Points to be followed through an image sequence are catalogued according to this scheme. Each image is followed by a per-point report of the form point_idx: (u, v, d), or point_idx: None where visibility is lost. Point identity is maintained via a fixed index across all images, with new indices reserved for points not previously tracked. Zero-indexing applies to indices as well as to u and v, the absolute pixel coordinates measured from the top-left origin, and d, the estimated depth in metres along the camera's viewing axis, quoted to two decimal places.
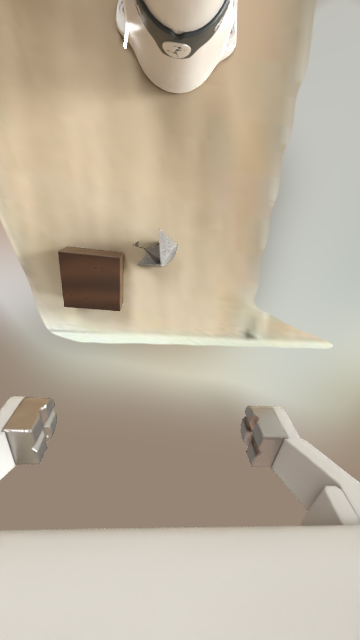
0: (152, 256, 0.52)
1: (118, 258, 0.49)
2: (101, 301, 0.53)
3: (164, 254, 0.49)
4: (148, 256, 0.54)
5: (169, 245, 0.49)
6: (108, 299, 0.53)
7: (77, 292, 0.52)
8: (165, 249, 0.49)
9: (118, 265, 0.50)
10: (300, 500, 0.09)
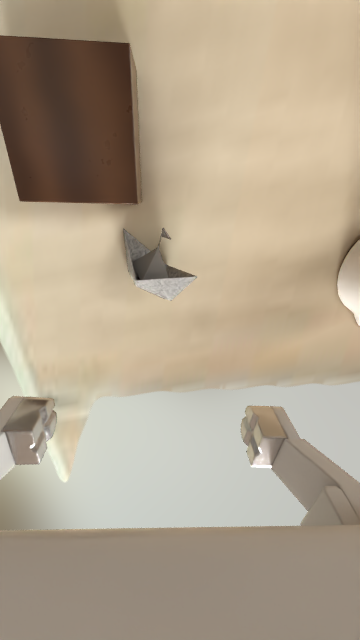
0: (145, 259, 0.31)
1: (135, 200, 0.25)
2: (30, 154, 0.23)
3: (154, 285, 0.30)
4: (141, 247, 0.32)
5: (169, 291, 0.30)
6: (41, 175, 0.24)
7: (35, 86, 0.21)
8: (164, 286, 0.30)
9: (121, 200, 0.25)
10: (300, 500, 0.09)
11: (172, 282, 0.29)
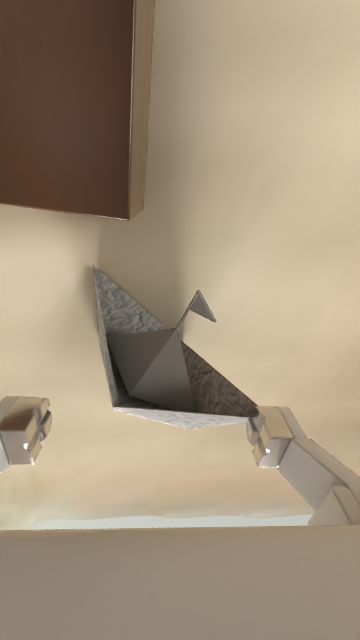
0: (140, 345, 0.13)
1: (123, 209, 0.08)
2: None
3: (160, 415, 0.12)
4: (132, 307, 0.15)
5: (192, 422, 0.13)
6: None
7: None
8: (182, 418, 0.12)
9: (78, 203, 0.08)
10: (307, 500, 0.09)
11: (205, 417, 0.12)
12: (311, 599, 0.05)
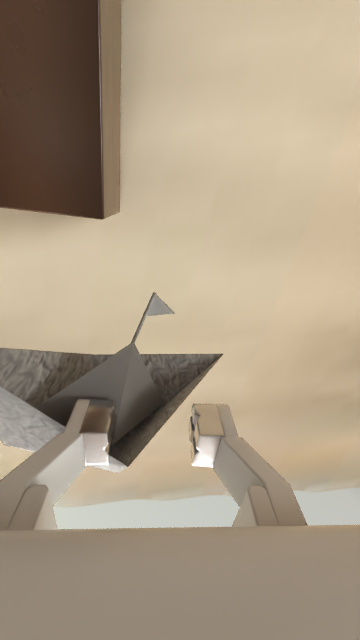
0: (91, 389, 0.10)
1: (99, 210, 0.10)
2: None
3: None
4: (28, 360, 0.10)
5: None
6: None
7: None
8: None
9: (62, 206, 0.10)
10: (236, 500, 0.09)
11: None
12: (311, 599, 0.05)
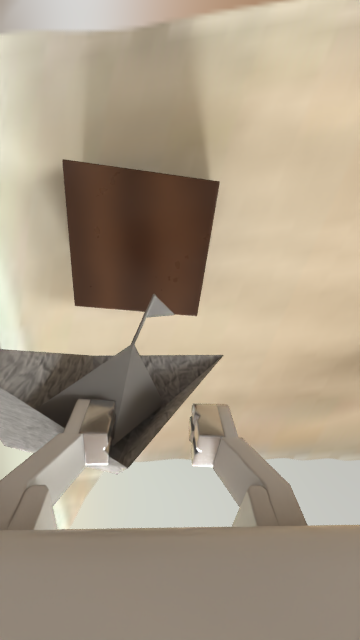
0: (91, 390, 0.10)
1: (195, 313, 0.25)
2: (95, 267, 0.22)
3: None
4: (28, 361, 0.10)
5: None
6: (102, 285, 0.23)
7: (113, 210, 0.20)
8: None
9: (181, 312, 0.24)
10: (236, 500, 0.09)
11: None
12: (311, 599, 0.05)
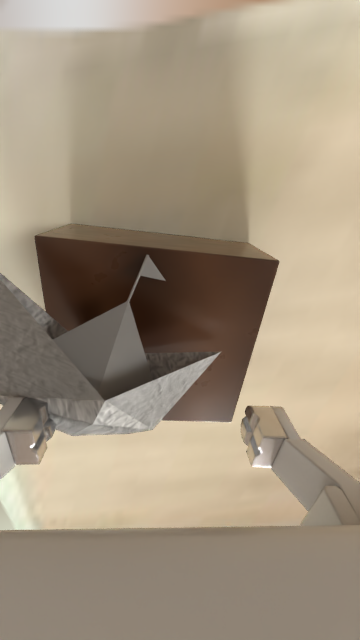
0: (84, 339, 0.11)
1: (229, 419, 0.18)
2: None
3: (145, 398, 0.11)
4: (37, 315, 0.11)
5: (165, 403, 0.12)
6: None
7: (116, 302, 0.13)
8: (162, 393, 0.11)
9: (210, 418, 0.18)
10: (300, 500, 0.09)
11: (182, 377, 0.12)
12: (311, 599, 0.05)
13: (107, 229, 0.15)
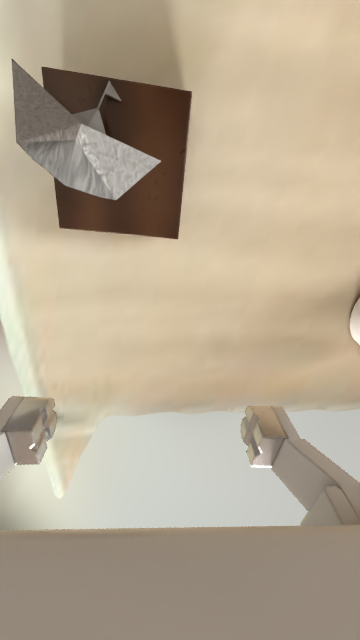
0: None
1: (176, 236, 0.26)
2: None
3: (107, 152, 0.18)
4: None
5: (122, 176, 0.20)
6: (85, 204, 0.24)
7: None
8: (119, 161, 0.19)
9: (162, 234, 0.26)
10: (300, 500, 0.09)
11: (132, 158, 0.20)
12: (311, 599, 0.05)
13: None
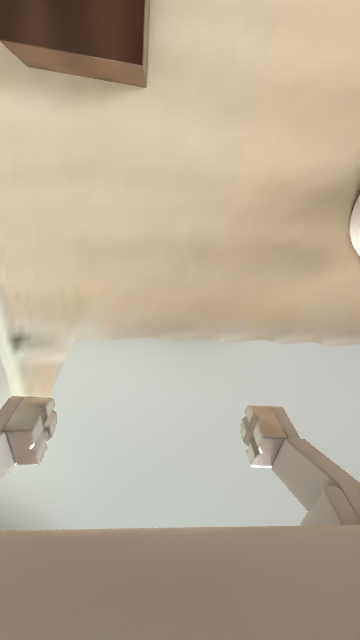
0: None
1: (141, 61, 0.21)
2: None
3: None
4: None
5: None
6: (27, 4, 0.19)
7: None
8: None
9: (124, 57, 0.21)
10: (300, 500, 0.09)
11: None
12: (311, 599, 0.05)
13: None
